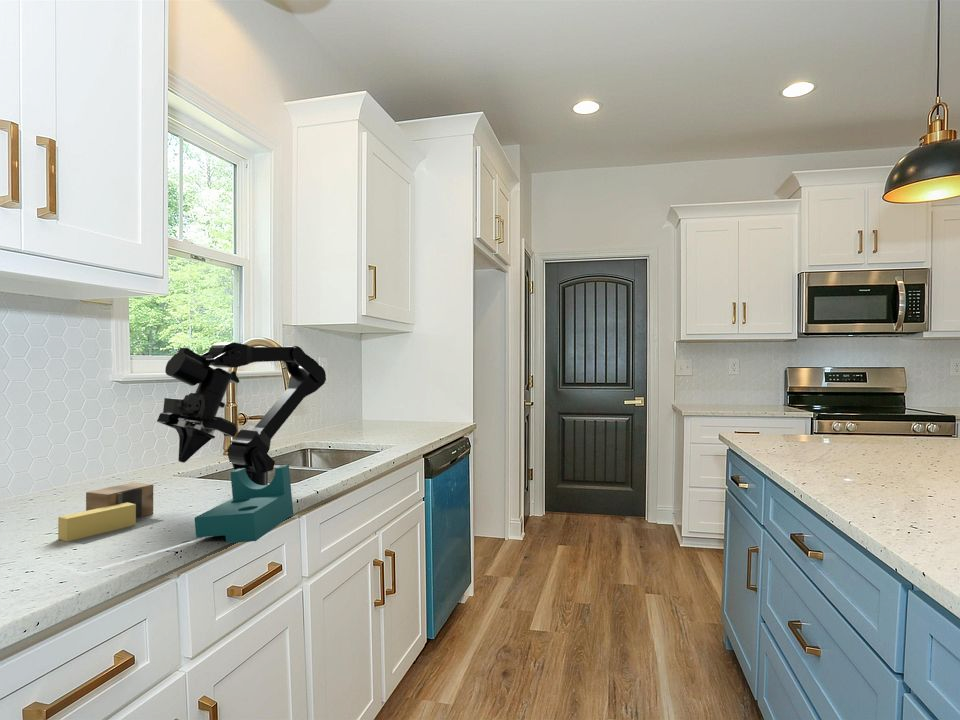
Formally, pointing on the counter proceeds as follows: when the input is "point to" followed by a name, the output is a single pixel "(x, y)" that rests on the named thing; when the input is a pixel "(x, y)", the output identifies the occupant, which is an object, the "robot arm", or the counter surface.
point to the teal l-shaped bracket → (249, 508)
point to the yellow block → (96, 521)
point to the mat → (116, 531)
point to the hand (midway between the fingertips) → (181, 462)
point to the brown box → (123, 497)
